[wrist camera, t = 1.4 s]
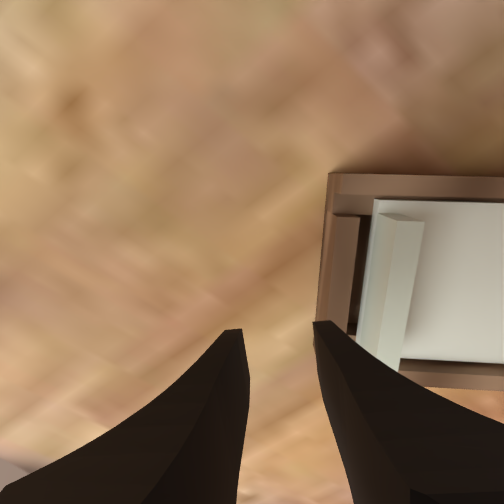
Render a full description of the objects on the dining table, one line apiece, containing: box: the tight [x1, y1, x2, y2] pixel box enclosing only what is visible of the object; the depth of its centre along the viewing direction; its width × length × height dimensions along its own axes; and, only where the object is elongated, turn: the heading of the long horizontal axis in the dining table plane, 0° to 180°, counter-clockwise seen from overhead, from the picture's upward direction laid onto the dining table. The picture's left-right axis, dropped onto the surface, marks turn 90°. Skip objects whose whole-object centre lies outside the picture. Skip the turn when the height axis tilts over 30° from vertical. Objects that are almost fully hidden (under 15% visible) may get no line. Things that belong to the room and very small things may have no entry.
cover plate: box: [355, 199, 504, 372], centre depth 15 cm, size 11×9×3 cm
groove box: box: [313, 173, 504, 391], centre depth 17 cm, size 14×12×4 cm
